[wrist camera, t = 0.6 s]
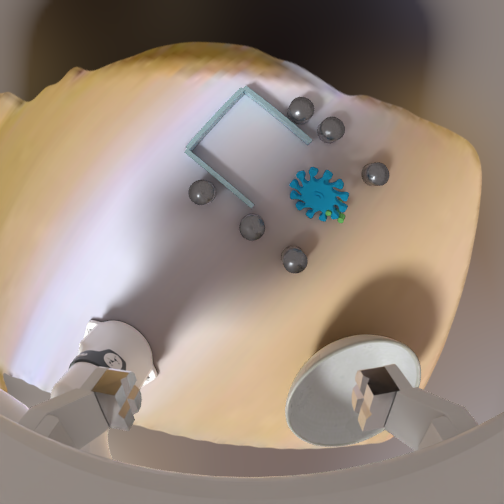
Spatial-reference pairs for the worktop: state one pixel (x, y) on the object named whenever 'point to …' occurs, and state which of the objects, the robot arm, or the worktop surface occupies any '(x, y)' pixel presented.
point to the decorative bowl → (341, 388)
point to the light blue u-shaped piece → (220, 114)
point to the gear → (320, 195)
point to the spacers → (252, 223)
